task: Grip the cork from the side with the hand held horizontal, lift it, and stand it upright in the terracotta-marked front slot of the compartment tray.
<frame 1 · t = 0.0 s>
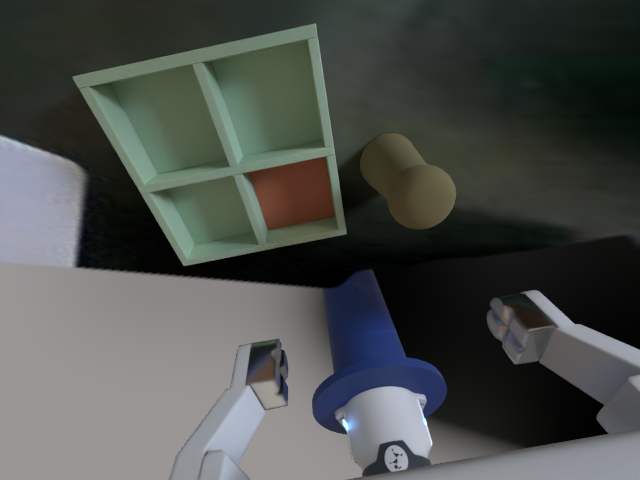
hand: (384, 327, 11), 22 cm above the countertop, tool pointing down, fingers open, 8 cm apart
cork: (386, 161, 30), on the countertop
compartment tray: (241, 158, 28), on the countertop
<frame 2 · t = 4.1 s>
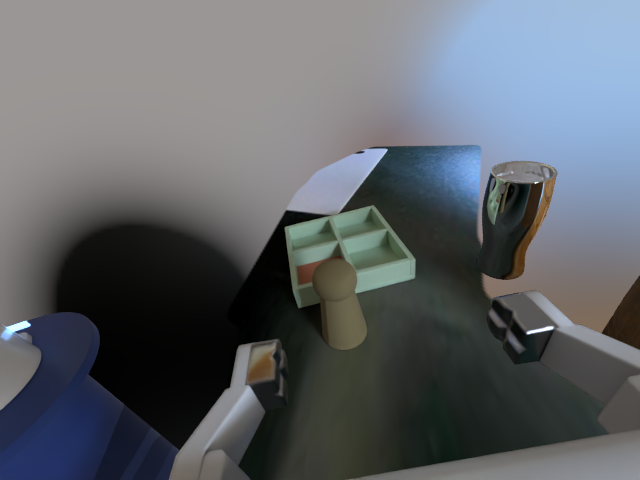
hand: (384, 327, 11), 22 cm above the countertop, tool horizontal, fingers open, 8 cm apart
cork: (344, 330, 37), on the countertop
compartment tray: (342, 257, 49), on the countertop
beer glass: (498, 267, 41), on the countertop
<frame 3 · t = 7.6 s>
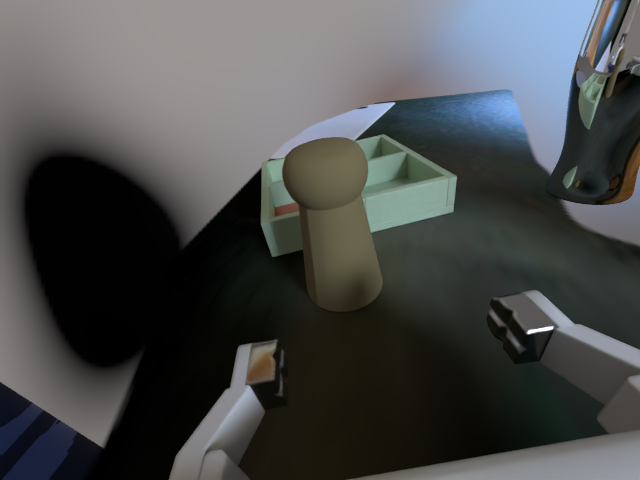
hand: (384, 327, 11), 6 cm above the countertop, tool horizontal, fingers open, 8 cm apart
cork: (344, 284, 22), on the countertop
compartment tray: (341, 196, 35), on the countertop
beer glass: (584, 192, 26), on the countertop
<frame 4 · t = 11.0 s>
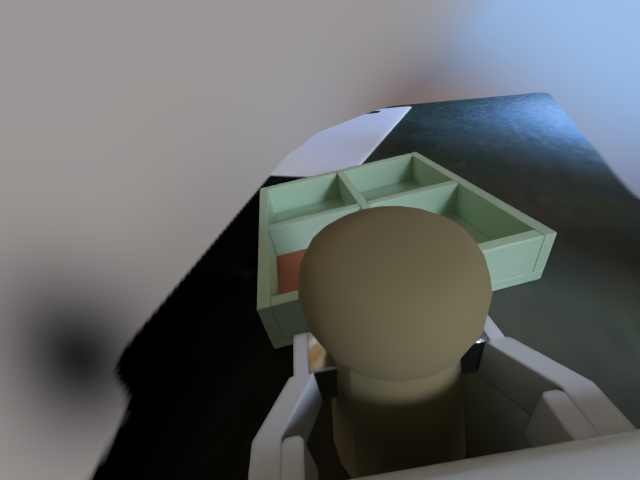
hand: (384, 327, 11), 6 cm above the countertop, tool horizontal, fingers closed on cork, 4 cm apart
cork: (395, 424, 13), on the countertop, touching gripper
compartment tray: (366, 239, 26), on the countertop
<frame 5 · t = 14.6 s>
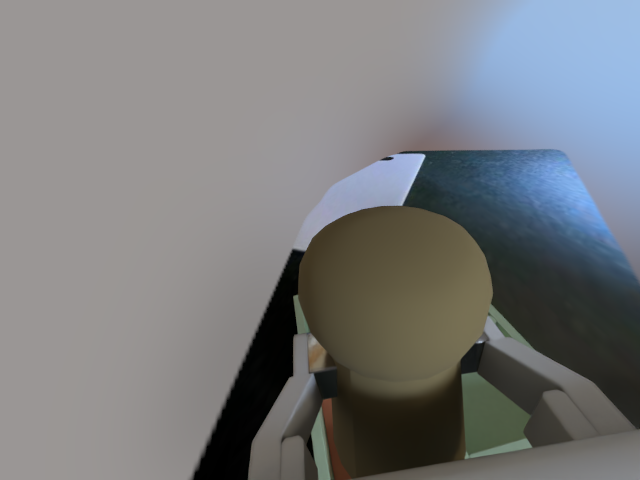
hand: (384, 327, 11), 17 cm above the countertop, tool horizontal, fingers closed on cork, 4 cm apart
cork: (394, 425, 13), point 11 cm above the countertop, touching gripper
compartment tray: (404, 366, 26), on the countertop
when the fingers open (7 cm above the countertop, at t = 18.2 s): cork stays where it is, resting on compartment tray.
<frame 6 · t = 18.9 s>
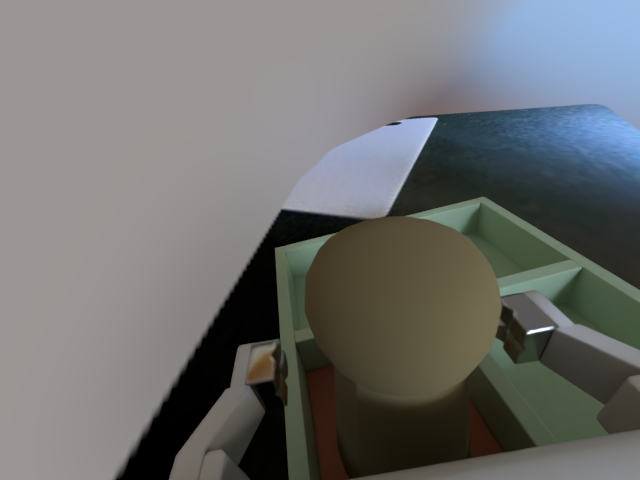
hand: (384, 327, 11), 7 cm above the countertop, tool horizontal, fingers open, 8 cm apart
cork: (399, 432, 13), point 1 cm above the countertop, touching compartment tray
compartment tray: (435, 339, 18), on the countertop
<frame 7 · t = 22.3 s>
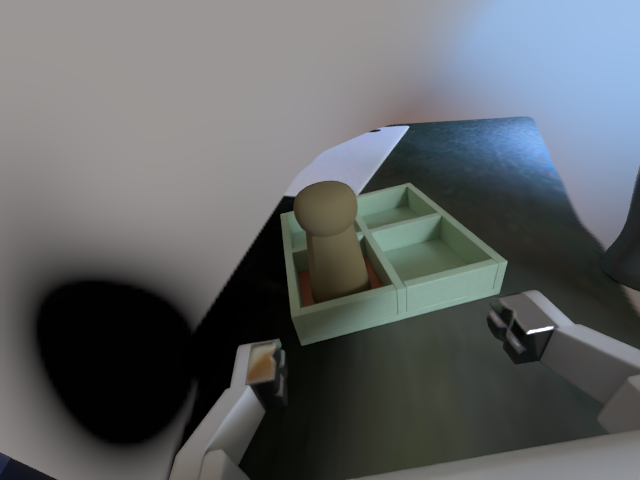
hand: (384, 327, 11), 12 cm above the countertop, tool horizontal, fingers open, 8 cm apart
cork: (341, 290, 28), point 1 cm above the countertop, touching compartment tray
compartment tray: (369, 259, 32), on the countertop
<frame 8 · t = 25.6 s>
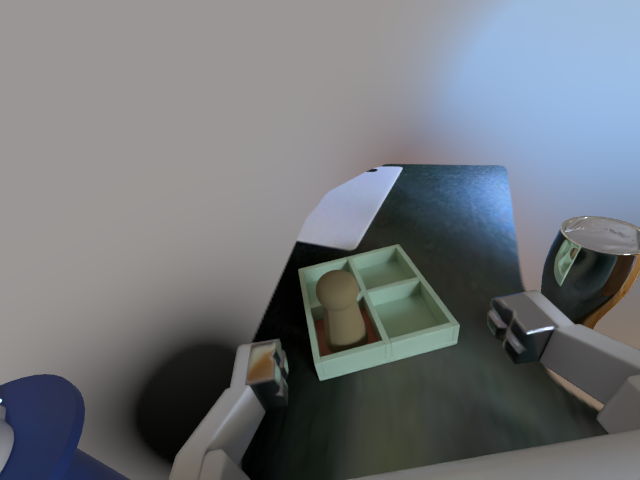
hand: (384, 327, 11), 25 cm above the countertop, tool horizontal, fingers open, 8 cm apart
cork: (346, 337, 39), point 1 cm above the countertop, touching compartment tray
compartment tray: (366, 309, 43), on the countertop
beer glass: (556, 331, 35), on the countertop
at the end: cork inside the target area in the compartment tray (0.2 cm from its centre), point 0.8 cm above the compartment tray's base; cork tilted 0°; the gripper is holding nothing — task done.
